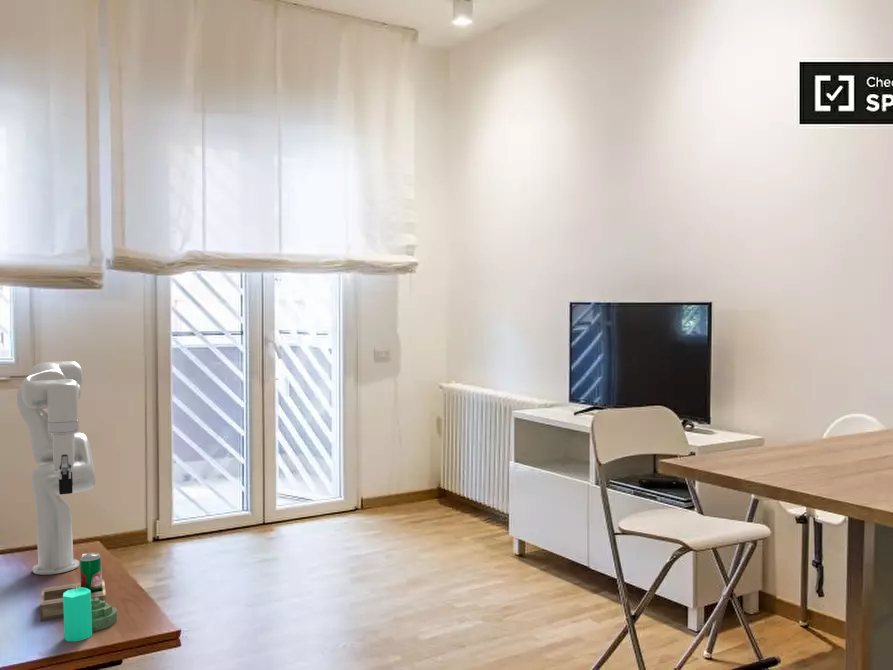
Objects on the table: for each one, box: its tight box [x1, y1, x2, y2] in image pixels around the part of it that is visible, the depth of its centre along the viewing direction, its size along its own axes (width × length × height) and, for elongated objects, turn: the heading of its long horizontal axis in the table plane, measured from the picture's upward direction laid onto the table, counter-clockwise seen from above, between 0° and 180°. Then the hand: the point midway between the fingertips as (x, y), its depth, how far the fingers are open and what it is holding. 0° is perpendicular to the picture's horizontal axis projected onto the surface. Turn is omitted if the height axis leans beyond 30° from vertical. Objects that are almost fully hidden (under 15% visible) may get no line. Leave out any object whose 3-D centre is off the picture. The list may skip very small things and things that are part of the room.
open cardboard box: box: [39, 579, 107, 622], centre depth 209 cm, size 14×15×4 cm
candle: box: [63, 586, 93, 642], centre depth 190 cm, size 6×6×12 cm
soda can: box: [79, 551, 103, 593], centre depth 211 cm, size 5×5×12 cm
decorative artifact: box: [91, 595, 118, 632], centre depth 198 cm, size 10×7×10 cm
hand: (66, 490), depth 220 cm, fingers open, 9 cm apart
